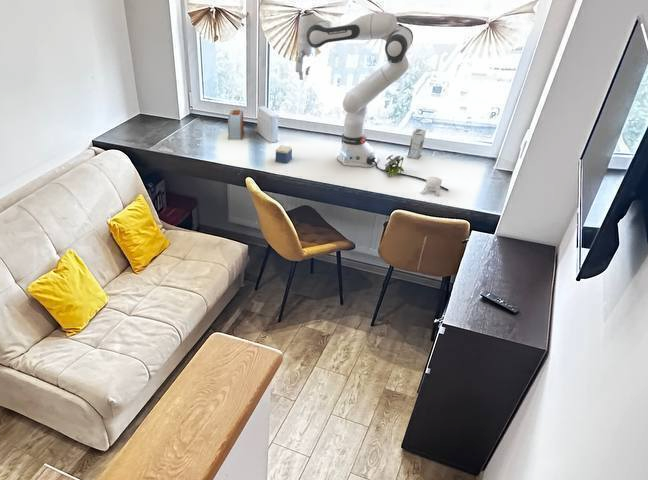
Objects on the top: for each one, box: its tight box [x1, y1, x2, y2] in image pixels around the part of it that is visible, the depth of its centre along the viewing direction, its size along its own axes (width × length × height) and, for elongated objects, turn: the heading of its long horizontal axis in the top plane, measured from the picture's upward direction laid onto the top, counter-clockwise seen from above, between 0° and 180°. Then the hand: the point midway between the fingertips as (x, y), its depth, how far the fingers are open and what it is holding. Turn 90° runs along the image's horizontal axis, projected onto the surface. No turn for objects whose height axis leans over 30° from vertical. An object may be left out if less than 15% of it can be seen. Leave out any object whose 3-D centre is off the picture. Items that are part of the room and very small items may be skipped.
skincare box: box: [256, 105, 279, 143], centre depth 338 cm, size 21×5×16 cm, turn 22°
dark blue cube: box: [275, 144, 293, 164], centre depth 314 cm, size 7×8×7 cm
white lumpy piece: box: [421, 176, 443, 196], centre depth 275 cm, size 9×8×15 cm
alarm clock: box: [227, 109, 245, 140], centre depth 344 cm, size 15×8×14 cm, turn 172°
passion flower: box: [383, 154, 405, 177], centre depth 294 cm, size 11×11×12 cm
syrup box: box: [407, 128, 427, 159], centre depth 306 cm, size 6×6×14 cm
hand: (304, 76), depth 294 cm, fingers open, 8 cm apart
